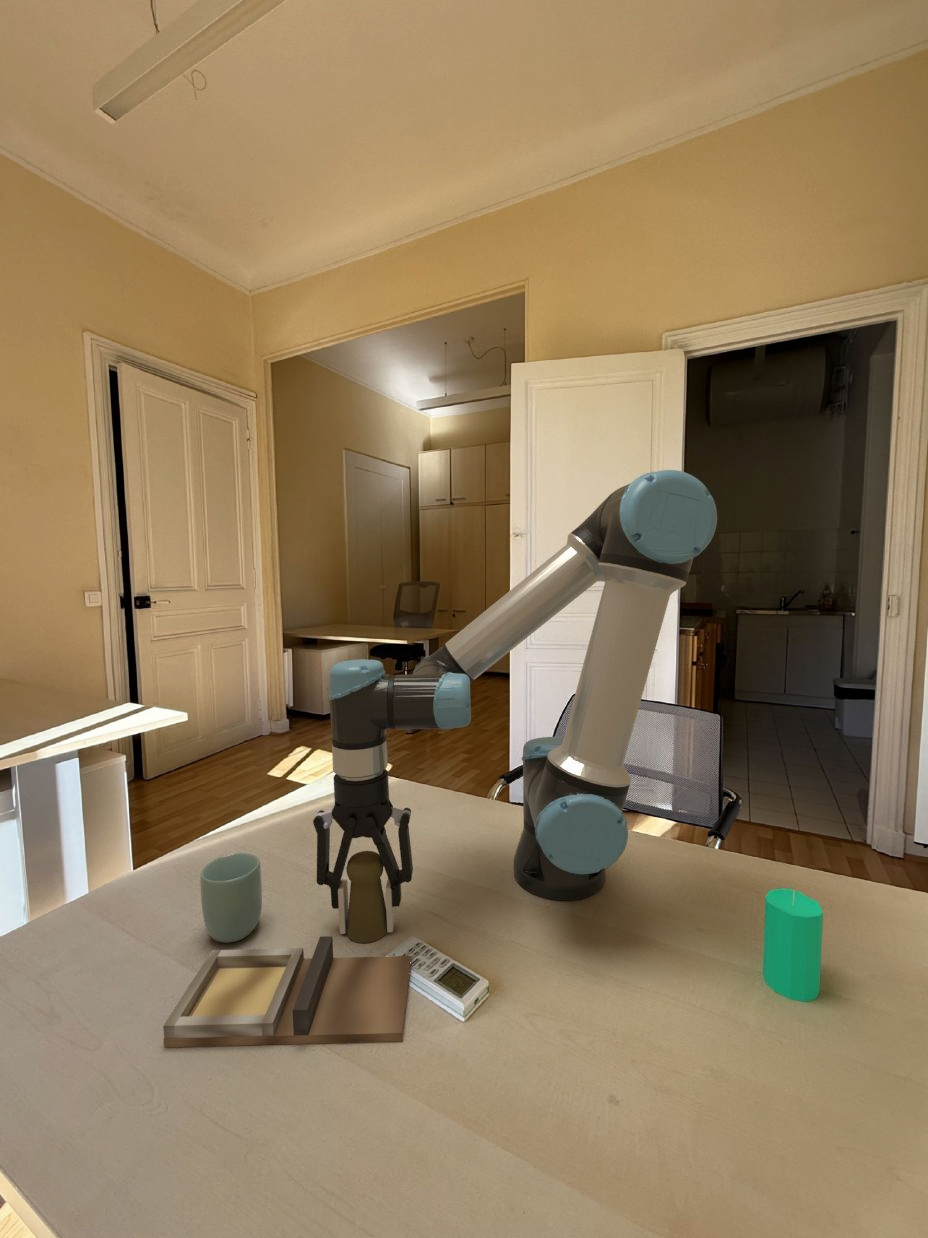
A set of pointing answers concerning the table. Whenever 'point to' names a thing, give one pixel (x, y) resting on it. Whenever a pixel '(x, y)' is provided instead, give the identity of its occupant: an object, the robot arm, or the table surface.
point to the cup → (231, 896)
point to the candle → (792, 944)
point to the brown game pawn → (366, 898)
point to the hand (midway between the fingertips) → (367, 926)
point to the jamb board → (291, 999)
